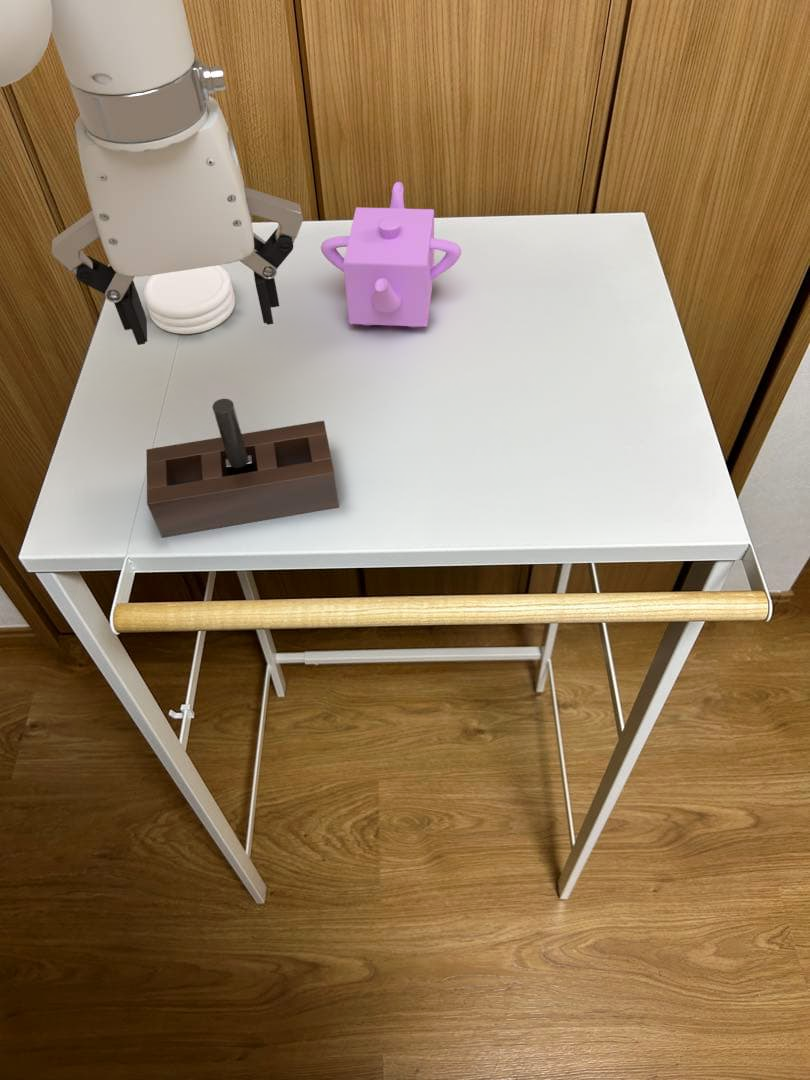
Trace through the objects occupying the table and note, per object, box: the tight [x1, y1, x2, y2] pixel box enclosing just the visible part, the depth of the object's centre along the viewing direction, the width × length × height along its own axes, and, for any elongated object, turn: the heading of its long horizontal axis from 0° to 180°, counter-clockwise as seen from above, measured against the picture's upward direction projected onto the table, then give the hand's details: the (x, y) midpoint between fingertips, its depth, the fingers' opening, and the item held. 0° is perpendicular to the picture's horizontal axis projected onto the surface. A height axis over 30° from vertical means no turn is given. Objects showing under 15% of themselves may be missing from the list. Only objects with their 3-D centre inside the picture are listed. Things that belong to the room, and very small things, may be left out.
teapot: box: [320, 181, 462, 329], centre depth 92 cm, size 15×13×11 cm
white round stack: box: [143, 265, 236, 335], centre depth 96 cm, size 10×10×4 cm
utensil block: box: [145, 420, 340, 538], centre depth 78 cm, size 7×17×5 cm, turn 101°
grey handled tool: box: [212, 398, 255, 476], centre depth 76 cm, size 2×2×12 cm
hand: (205, 323), depth 64 cm, fingers open, 9 cm apart
